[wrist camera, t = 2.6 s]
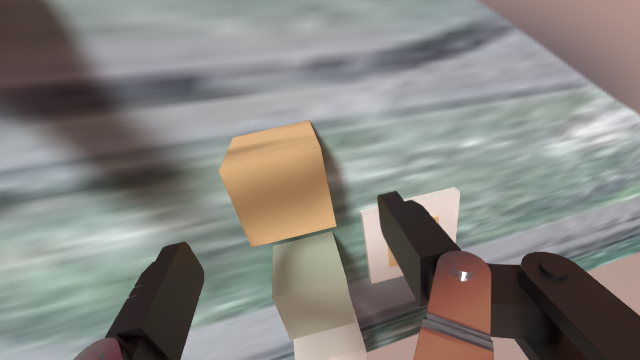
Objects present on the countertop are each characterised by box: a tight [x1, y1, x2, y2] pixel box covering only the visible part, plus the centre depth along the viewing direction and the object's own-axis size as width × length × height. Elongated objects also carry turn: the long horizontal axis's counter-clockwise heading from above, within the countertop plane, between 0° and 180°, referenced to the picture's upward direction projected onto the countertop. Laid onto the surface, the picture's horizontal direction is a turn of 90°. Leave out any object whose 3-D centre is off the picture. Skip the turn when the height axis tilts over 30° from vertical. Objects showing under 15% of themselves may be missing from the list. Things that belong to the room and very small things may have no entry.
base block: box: [294, 301, 368, 360], centre depth 25 cm, size 6×6×5 cm
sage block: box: [272, 231, 355, 340], centre depth 21 cm, size 5×5×5 cm
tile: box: [359, 187, 460, 284], centre depth 23 cm, size 8×8×1 cm
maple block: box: [219, 120, 336, 247], centre depth 16 cm, size 5×5×5 cm
